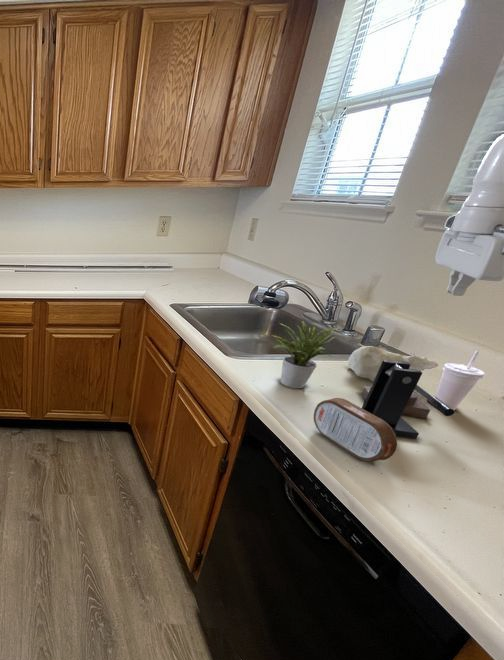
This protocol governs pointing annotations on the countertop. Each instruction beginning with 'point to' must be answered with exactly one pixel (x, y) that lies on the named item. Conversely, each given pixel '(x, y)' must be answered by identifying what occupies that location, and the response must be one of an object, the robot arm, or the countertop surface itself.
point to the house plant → (301, 356)
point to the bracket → (393, 396)
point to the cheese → (371, 359)
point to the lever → (429, 397)
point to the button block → (408, 404)
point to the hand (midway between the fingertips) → (454, 294)
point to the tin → (355, 429)
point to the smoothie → (457, 382)
